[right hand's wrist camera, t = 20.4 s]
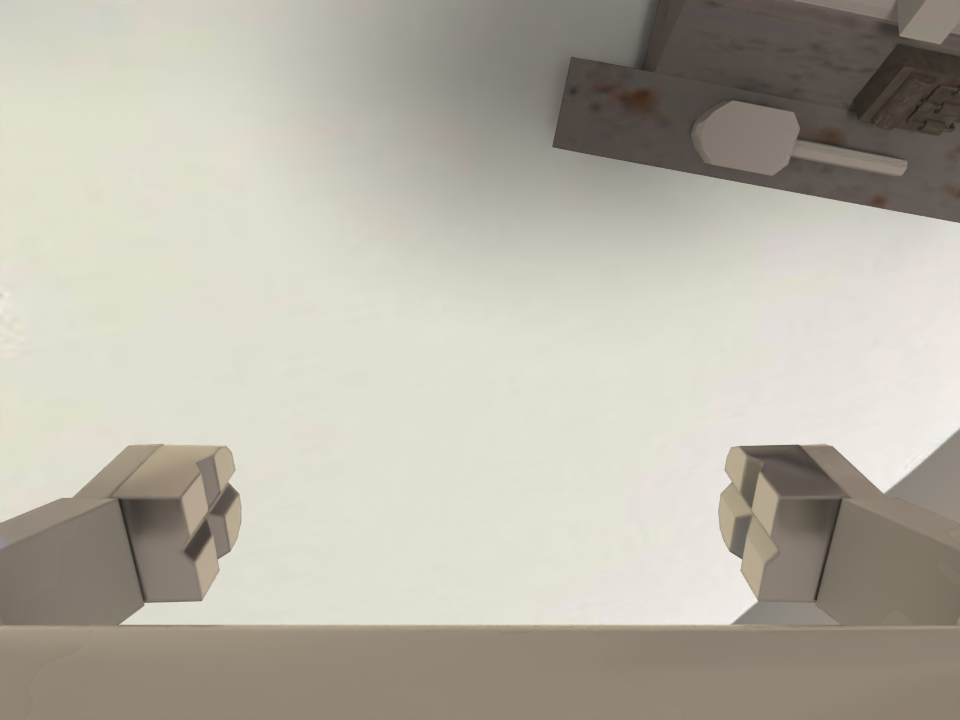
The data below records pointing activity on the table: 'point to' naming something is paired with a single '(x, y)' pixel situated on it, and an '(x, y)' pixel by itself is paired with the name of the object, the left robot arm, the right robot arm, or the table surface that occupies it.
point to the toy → (787, 99)
